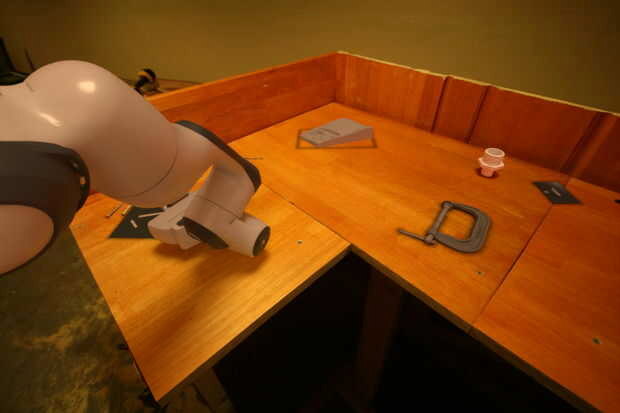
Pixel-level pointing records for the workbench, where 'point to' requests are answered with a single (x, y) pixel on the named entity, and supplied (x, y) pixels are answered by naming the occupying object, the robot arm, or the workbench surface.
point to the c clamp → (460, 245)
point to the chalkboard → (136, 223)
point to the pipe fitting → (491, 161)
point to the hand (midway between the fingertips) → (170, 199)
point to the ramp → (337, 133)
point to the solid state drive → (556, 193)
